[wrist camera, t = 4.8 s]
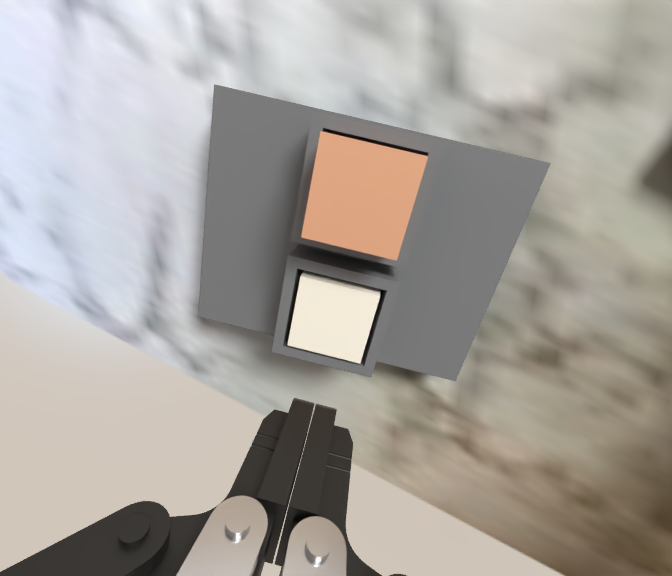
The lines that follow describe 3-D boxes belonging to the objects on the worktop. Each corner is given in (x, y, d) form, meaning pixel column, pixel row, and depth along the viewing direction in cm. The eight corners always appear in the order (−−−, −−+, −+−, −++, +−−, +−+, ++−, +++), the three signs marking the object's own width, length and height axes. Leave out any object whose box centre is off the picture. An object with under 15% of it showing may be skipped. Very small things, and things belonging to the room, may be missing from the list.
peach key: (419, 158, 15) (428, 156, 13) (393, 247, 17) (396, 260, 14) (328, 136, 15) (320, 130, 13) (311, 227, 17) (300, 237, 14)
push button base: (525, 163, 19) (579, 162, 14) (445, 356, 24) (465, 406, 19) (236, 96, 20) (188, 71, 15) (217, 299, 25) (177, 333, 20)
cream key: (379, 280, 20) (380, 295, 17) (361, 342, 21) (360, 363, 19) (309, 263, 20) (300, 276, 17) (296, 325, 21) (287, 345, 19)
